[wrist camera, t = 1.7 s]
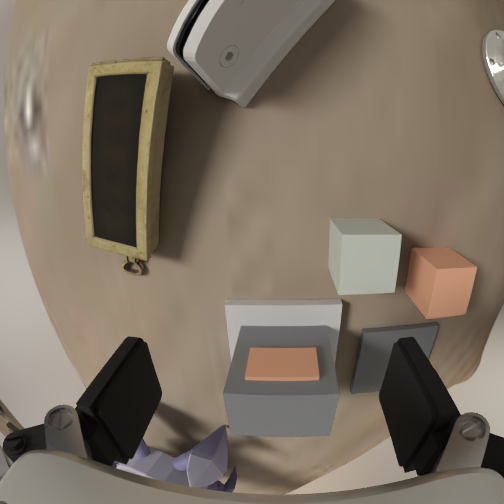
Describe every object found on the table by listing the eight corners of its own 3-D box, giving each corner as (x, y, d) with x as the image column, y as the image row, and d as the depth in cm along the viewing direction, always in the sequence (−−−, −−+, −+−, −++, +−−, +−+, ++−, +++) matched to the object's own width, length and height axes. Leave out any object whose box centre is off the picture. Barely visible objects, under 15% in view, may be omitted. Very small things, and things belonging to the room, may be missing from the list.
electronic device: (20, 438, 67) (17, 442, 64) (9, 420, 62) (5, 425, 59) (34, 448, 67) (30, 453, 64) (22, 431, 62) (18, 436, 58)
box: (185, 61, 21) (162, 53, 17) (171, 267, 32) (153, 292, 28) (114, 65, 22) (84, 63, 18) (113, 253, 33) (91, 273, 29)
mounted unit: (340, 298, 29) (363, 369, 18) (331, 369, 32) (342, 442, 21) (227, 299, 30) (199, 368, 19) (234, 369, 33) (216, 440, 23)
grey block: (378, 218, 26) (401, 234, 20) (375, 266, 27) (394, 292, 22) (329, 218, 26) (342, 234, 21) (328, 267, 28) (338, 294, 22)
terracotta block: (448, 247, 26) (477, 267, 20) (440, 288, 27) (465, 314, 21) (411, 247, 26) (437, 268, 20) (404, 291, 28) (426, 319, 22)
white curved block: (242, 111, 24) (178, 65, 15) (208, 92, 25) (142, 50, 16) (337, -2, 18) (315, -70, 9) (300, -14, 20) (268, -75, 10)
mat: (436, 322, 28) (438, 325, 28) (416, 381, 31) (417, 385, 31) (362, 328, 30) (364, 332, 29) (350, 389, 33) (351, 393, 32)
